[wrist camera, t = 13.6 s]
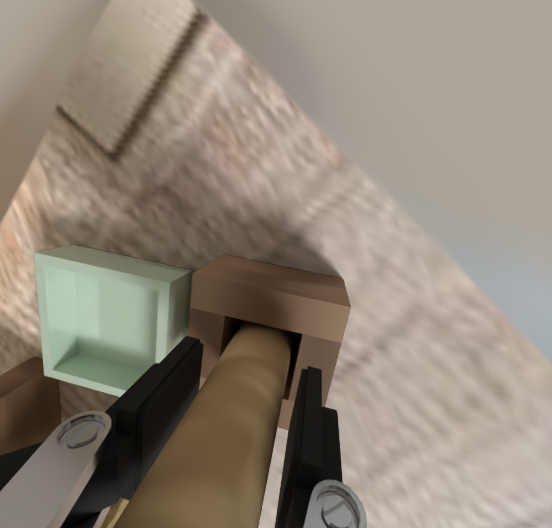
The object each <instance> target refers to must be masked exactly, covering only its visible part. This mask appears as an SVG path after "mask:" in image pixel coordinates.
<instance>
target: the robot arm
mask: <svg viewBox="0 0 552 528" xmlns="http://www.w3.org/2000/svg"><path fill="white" fill-rule="evenodd" d="M203 347H204V345H203V343H200V339H197V338H193V337H189V336H186V337H184V338H183V339H182V340H181V341H180V342H179V343H178V344H177V346H176V347H175V348H174V349H173V350H172V351H171V352H170V353H169V354H168V355H167V356H166V357H165V358H164V359H163V360H162V361H161V362H160V363H155V364H153V365H152V366H151V367H150V368H149V369H148V370H147V371H146V372H145V373H144V374H143V375H142V376H141V377H140V378H139V379H138V380H137V381H136V382H135V383H134V384H133V385H132V386H131V387H130V388H129V389H128V390H127V391H126V392H125V393H124V394H123V395H122V396H121V397H120V398H119V399H118V400H117V401H116V402H115V403H114V404H113V405H112V406H111V407H110V408H109V409H108V410H107V411H106V412H102V411H98V410H91V411H85V412H81V413H78V414H76V415H74V416H71V417H70V418H68V419H67V420H65V421H63V422H62V423H61V424H60V425H59V426H58V427H57V428H56V429H55V430H54V431H53V432H52V433H51V435H50V436H49V437H48V438H47V439H46V440H45V441H43V442H40V443H37V444H34V445H31V446H28V447H25V448H22V449H18V450H15V451H12V452H9V453H6V454H3V455H0V528H101V526H102V523H103V521H104V519H105V517H106V515H107V513H108V511H109V509H110V506H111V505H113V504H115V503H117V502H118V501H119V499H120V498H123V499H126V500H129V501H130V499H131V498H132V496H133V495H134V493H135V491H136V490H137V488H138V487H139V485H140V484H141V482H142V480H143V479H144V477H145V476H146V474H147V472H148V471H149V469H150V468H151V466H152V465H153V463H154V461H155V460H156V458H157V457H158V455H159V453H160V452H161V450H162V449H163V447H164V446H165V444H166V442H167V441H168V439H169V438H170V436H171V434H172V433H173V431H174V430H175V428H176V427H177V425H178V423H179V422H180V420H181V419H182V417H183V415H184V414H185V412H186V411H187V409H188V408H189V406H190V404H191V403H192V401H193V400H194V398H195V396H196V395H197V393H198V392H199V386H200V376H201V367H202V357H203ZM275 528H367V521H366V513H365V511H364V508H363V505H362V503H361V501H360V500H359V498H358V496H357V495H356V494H355V493H354V492H353V491H352V490H351V489H350V488H349V487H348V486H346V485H345V484H343V482H342V468H341V454H340V441H339V427H338V415H337V411H336V410H334V409H330V408H326V407H322V369H319V368H315V367H311V366H308V368H307V369H303V368H302V371H301V375H300V380H299V384H298V389H297V393H296V398H295V402H294V407H293V411H292V415H291V420H290V425H289V431H288V438H287V445H286V452H285V459H284V466H283V473H282V480H281V487H280V494H279V501H278V508H277V515H276V522H275Z"/></svg>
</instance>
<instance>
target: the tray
mask: <svg viewBox="0 0 552 528" xmlns="http://www.w3.org/2000/svg"><path fill="white" fill-rule="evenodd" d="M34 260H35V272H36V284H37V295H38V307H39V319H40V331H41V343H42V354H43V366H44V375H45V376H48V377H52V378H55V379H59V380H62V381H66V382H69V383H73V384H76V385H80V386H83V387H87V388H90V389H94V390H97V391H101V392H104V393H108V394H111V395H115V396H118V397H121V396H122V395H123V394H124V393H125V392H126V391H127V390H128V389H129V388H130V387H131V386H132V385H133V384H134V383H135V382H136V381H137V380H138V379H139V378H140V377H141V376H142V375H143V374H144V373H145V372H146V371H147V370H148V369H149V368H150V367H151V366H152V365H153V364H155V363H160V362H161V361H162V360H163V359H164V358H165V357H166V356H167V355H168V354H169V353H170V352H171V351H172V350H173V349H174V348H175V347H176V346H177V344H178V343H179V342H180V341H181V340H182V339H183V338H184V337H186V336H187V328H188V316H189V303H190V291H191V279H192V270H189V269H184V268H179V267H175V266H170V265H166V264H161V263H156V262H152V261H147V260H142V259H138V258H133V257H129V256H124V255H119V254H115V253H110V252H105V251H101V250H96V249H92V248H87V247H82V246H78V245H70V246H64V247H59V248H54V249H49V250H44V251H38V252H34Z"/></svg>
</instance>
